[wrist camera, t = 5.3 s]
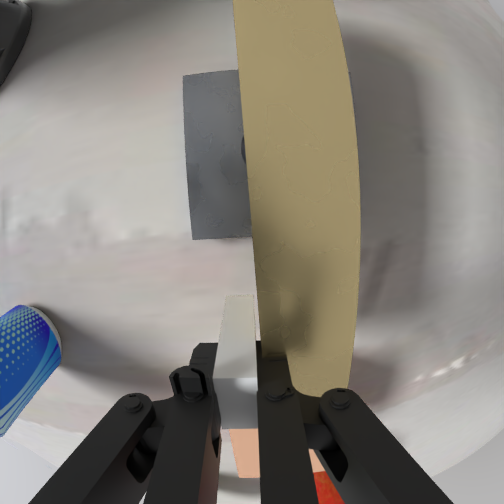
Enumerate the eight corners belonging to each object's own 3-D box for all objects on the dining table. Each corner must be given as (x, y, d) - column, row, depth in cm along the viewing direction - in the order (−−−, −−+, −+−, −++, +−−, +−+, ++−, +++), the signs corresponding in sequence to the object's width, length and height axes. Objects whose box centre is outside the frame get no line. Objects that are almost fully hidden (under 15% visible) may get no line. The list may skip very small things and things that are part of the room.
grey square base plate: (188, 83, 18) (182, 74, 16) (341, 79, 18) (350, 71, 16) (197, 234, 22) (192, 240, 20) (349, 226, 22) (359, 231, 19)
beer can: (67, 321, 24) (-25, 417, 9) (67, 373, 26) (3, 463, 11) (15, 288, 23) (-78, 354, 8) (19, 342, 25) (-51, 412, 10)
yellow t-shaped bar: (233, -5, 14) (224, -93, 5) (281, -7, 14) (298, -93, 4) (261, 329, 21) (267, 430, 11) (308, 324, 21) (341, 420, 11)
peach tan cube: (234, 352, 25) (228, 426, 16) (321, 346, 24) (347, 415, 16) (241, 409, 27) (239, 477, 18) (315, 404, 27) (332, 469, 18)
